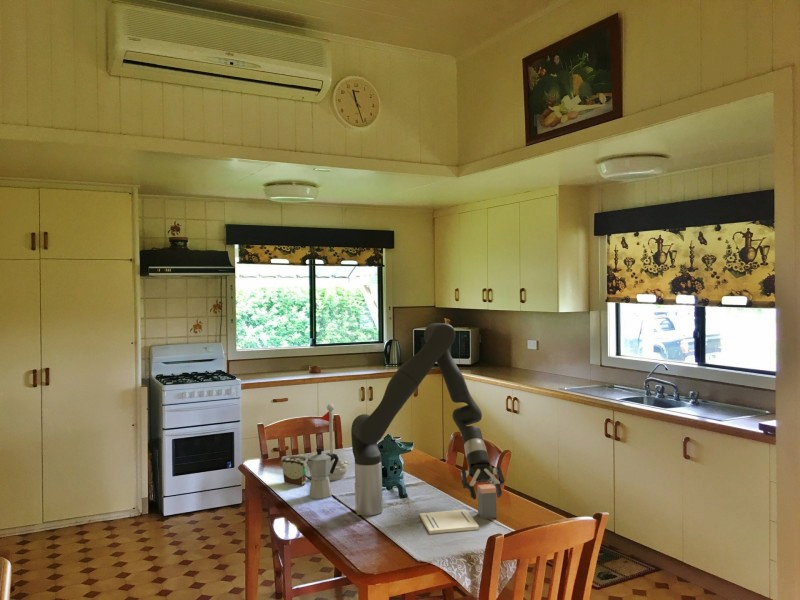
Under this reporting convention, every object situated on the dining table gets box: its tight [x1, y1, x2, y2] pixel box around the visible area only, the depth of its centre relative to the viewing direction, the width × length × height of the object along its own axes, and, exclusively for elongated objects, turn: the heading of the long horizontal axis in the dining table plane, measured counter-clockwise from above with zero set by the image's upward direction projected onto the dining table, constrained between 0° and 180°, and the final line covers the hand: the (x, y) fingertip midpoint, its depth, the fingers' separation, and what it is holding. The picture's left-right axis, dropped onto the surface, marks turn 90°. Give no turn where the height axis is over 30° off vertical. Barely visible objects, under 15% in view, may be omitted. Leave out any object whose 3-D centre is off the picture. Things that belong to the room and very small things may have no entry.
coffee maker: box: [305, 447, 340, 500], centre depth 250 cm, size 15×9×18 cm, turn 131°
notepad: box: [419, 508, 480, 535], centre depth 218 cm, size 16×16×1 cm
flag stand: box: [320, 403, 349, 481], centre depth 274 cm, size 13×13×30 cm
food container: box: [280, 455, 308, 487], centre depth 267 cm, size 12×6×10 cm, turn 58°
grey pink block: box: [476, 483, 498, 520], centre depth 223 cm, size 5×5×10 cm
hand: (487, 497), depth 223 cm, fingers open, 8 cm apart
